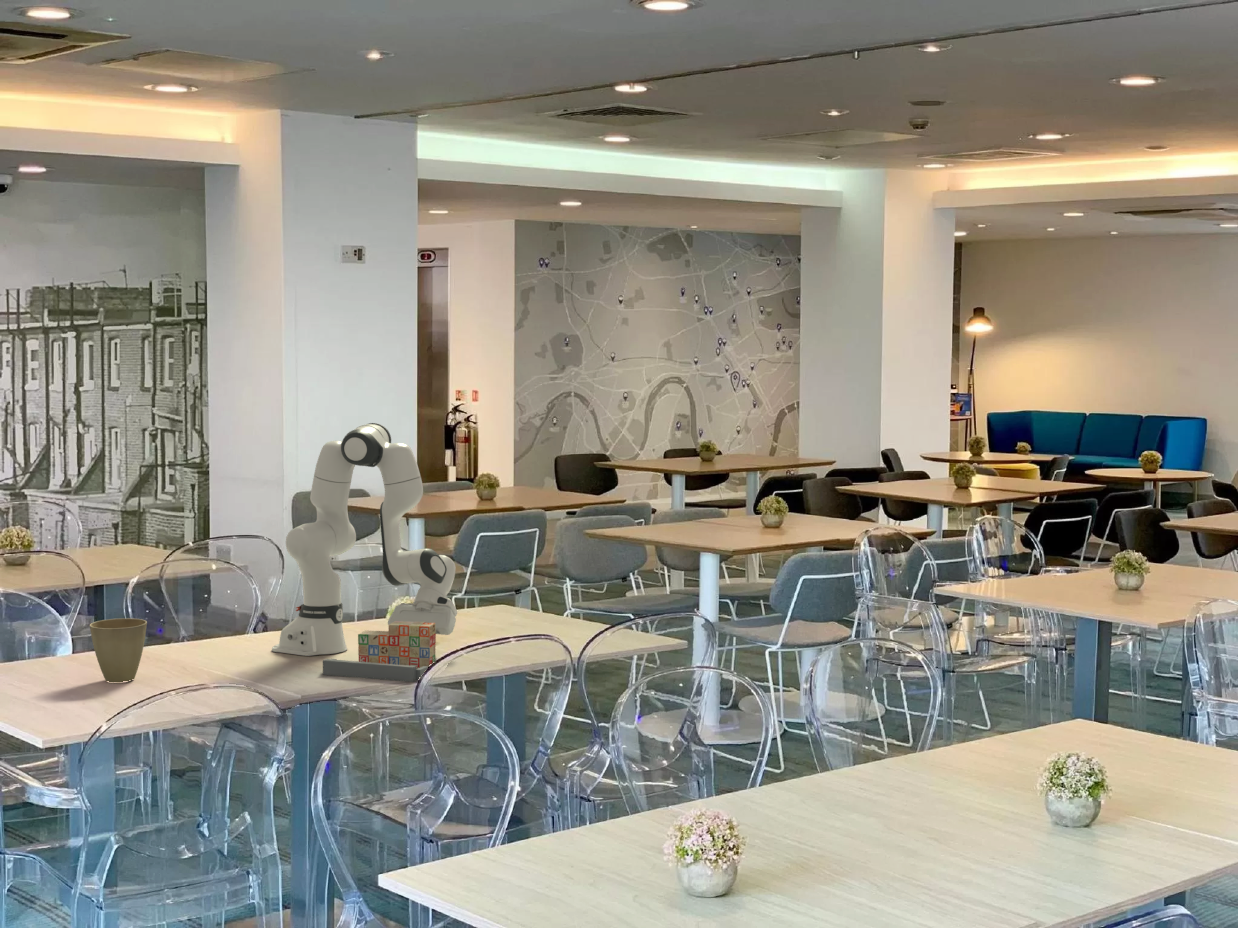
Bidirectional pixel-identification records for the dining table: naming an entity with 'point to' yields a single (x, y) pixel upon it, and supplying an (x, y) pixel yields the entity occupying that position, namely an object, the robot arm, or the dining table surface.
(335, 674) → the frame
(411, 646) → the stack of blocks
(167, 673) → the dining table surface
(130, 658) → the plant pot
